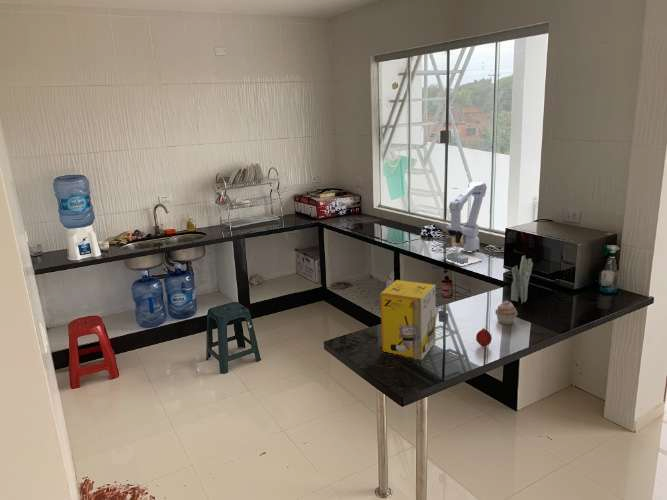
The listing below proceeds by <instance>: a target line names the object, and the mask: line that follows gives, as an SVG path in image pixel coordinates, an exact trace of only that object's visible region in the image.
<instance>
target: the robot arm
mask: <svg viewBox="0 0 667 500" xmlns="http://www.w3.org/2000/svg"><path fill="white" fill-rule="evenodd" d="M487 187H488V186H487V183H486V182H480V181H479V182H477V181H470V182H468V186H467V189H466V190H465V191H464V192H463V193H460V194H459V195H458V196H457V197H456V198H455V199H454V200H452V201H450V202H449V205H448V209H449V213H450V225H446V229H447V233H448V235H449V236H452V235H455V236H456V243H460V240H461V237H462V235H463V234H465V235H466V244H464V245H463V249H464V250H465V251H474V250H477V249H480V238H479V237H478V236H479V230H480V226H479V225H478V224H477V221H478V217H479V213H480V210H481V206H482V202H483V199H484V197H485V196H486V192H487V189H488V188H487ZM470 196H472V197H473V202H472V204H471V209H470V213H469V216H468V219H467V221H466V222H464V223H463V226H462V227H461V222H462V221H461V219H462V218H461V217H462V216H461V215H462V213H461V212H462V211H463V208H464V205H465V204H466V203H467V202H468V201H469V197H470Z"/></svg>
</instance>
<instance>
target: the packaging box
mask: <svg viewBox="0 0 667 500" xmlns="http://www.w3.org/2000/svg"><path fill="white" fill-rule="evenodd" d="M436 290H437V289H436V284H433V283H424V282H417V281H411V280H410V281H409V280H402V279H401V280H400V279H396V280H395V281H394V282H392V283H391V284H389V286H388V287H386V288H384V290H383V291H382V292H380V295H379V296H380V320H381V321H380V323H381V343H382V344H381V347H382V351H384V352H388V353H393V354H398V355H403V356H407V357H412V358H417V359H423V358H424V359H425V357H426V356H427V355H428V353H429V352H430V351H431V349H432V348H433V347H434V345H435V344H436V343H435V342H436V341H437V340H436V339H437V338H436V337H437V333H436V330H437V326H436V323H437V322H436V317H437V316H436V313H437V312H436V309H437V308H436V299H437V298H436V296H437V295H436ZM434 343H435V344H434ZM433 344H434V345H433ZM432 346H433V347H432ZM431 347H432V348H431ZM430 348H431V349H430ZM429 350H430V351H429ZM428 351H429V352H428ZM427 352H428V353H427ZM426 354H427V355H426ZM425 355H426V356H425ZM424 356H425V357H424ZM424 359H423V360H424Z"/></svg>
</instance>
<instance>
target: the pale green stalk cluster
mask: <svg viewBox="0 0 667 500" xmlns="http://www.w3.org/2000/svg"><path fill="white" fill-rule="evenodd" d="M520 260H521V261H520V265H519V269H518V265H515V266H512V268H511V274H512V278H513V279H512V283H511V287H510V289H511V290H510V291H511V292H510V301H514V302H517V303H518V302H519V299H520V303H521V304H523V303H526V302H527V300H528V287H529V283H530V282H529V281H530V276H531V274H532V270H533V265H534V262H533V259H532V258H526V255H522V256H521V259H520Z"/></svg>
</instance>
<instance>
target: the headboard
mask: <svg viewBox="0 0 667 500" xmlns="http://www.w3.org/2000/svg"><path fill="white" fill-rule="evenodd" d="M458 256H459V257H458ZM460 256H462V257H460ZM446 259H448V260H451V261H454V262H457V263H460V264H464V263H468V260H472V261H473V260H474V261H475V260H477V261H480V260H482V259H480V258H478V257H474V256H471V255H467V254H463V255H459V253H456V252H450V253H447V254H446Z"/></svg>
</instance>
